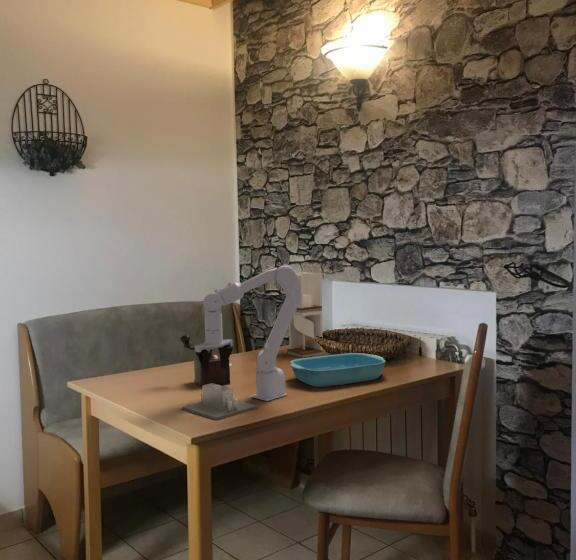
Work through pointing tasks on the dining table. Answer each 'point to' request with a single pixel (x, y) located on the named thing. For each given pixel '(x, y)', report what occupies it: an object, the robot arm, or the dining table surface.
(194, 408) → the dock
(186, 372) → the dining table surface
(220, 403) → the block
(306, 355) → the cream table lamp
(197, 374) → the brown wooden grinder
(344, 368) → the casserole dish
